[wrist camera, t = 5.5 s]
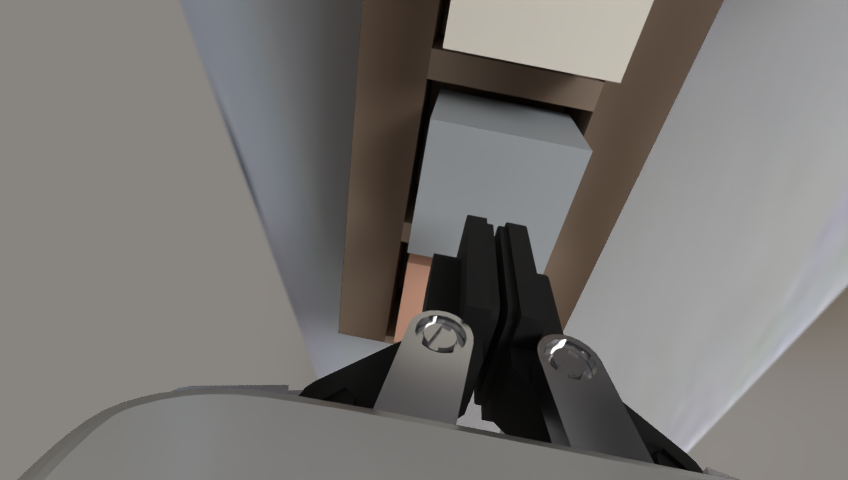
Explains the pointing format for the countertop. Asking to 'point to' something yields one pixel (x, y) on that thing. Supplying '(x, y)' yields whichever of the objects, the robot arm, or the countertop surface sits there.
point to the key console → (506, 81)
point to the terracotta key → (412, 292)
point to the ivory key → (550, 33)
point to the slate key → (496, 172)
